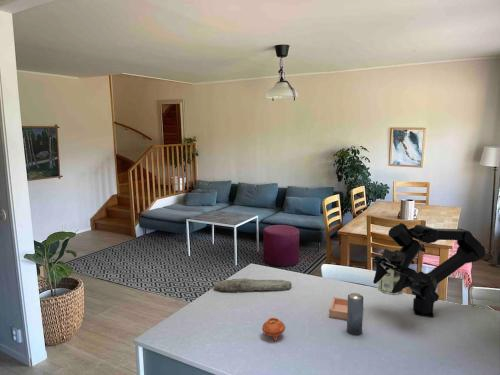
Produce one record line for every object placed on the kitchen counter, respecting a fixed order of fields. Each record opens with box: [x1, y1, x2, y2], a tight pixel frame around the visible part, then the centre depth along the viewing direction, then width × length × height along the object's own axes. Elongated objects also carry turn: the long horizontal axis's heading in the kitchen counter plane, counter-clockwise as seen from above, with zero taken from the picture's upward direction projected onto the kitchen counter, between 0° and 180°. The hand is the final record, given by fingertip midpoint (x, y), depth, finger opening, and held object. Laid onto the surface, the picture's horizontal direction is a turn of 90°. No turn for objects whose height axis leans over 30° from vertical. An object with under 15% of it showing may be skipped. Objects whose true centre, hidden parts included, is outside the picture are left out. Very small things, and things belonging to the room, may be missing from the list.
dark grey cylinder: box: [346, 292, 364, 337], centre depth 130 cm, size 5×5×13 cm
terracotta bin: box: [328, 296, 348, 321], centre depth 145 cm, size 12×12×3 cm
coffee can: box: [377, 255, 403, 295], centre depth 164 cm, size 10×10×14 cm
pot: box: [261, 317, 286, 341], centre depth 129 cm, size 8×8×7 cm
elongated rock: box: [213, 277, 293, 293], centre depth 168 cm, size 35×5×10 cm
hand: (383, 287), depth 136 cm, fingers open, 9 cm apart
